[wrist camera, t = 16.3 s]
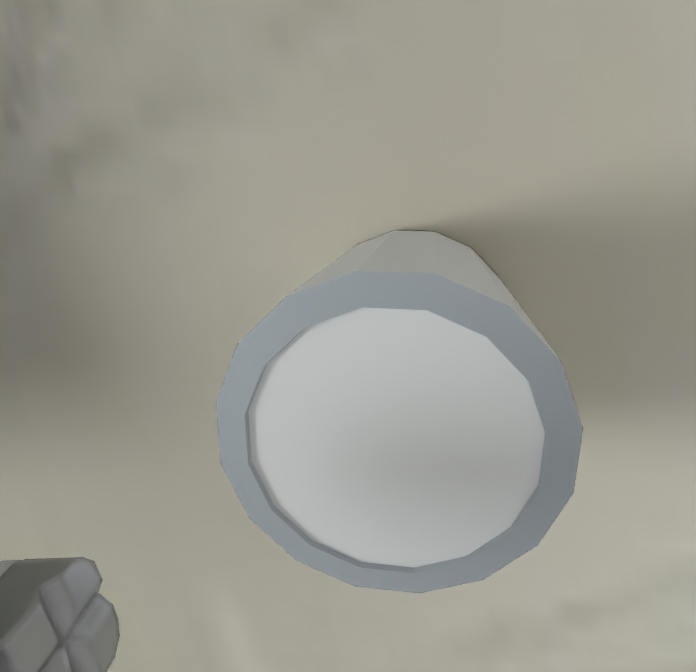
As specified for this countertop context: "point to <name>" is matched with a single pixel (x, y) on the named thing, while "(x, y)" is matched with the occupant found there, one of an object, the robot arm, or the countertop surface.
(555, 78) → the countertop surface
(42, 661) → the robot arm
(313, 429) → the shot glass
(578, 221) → the countertop surface
